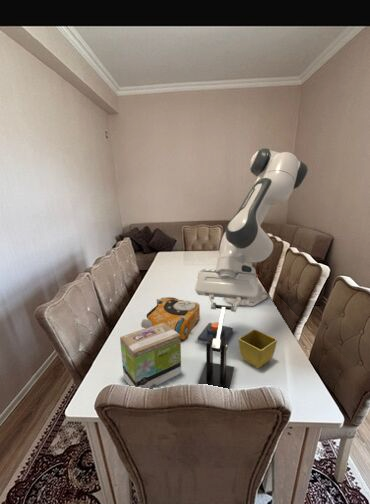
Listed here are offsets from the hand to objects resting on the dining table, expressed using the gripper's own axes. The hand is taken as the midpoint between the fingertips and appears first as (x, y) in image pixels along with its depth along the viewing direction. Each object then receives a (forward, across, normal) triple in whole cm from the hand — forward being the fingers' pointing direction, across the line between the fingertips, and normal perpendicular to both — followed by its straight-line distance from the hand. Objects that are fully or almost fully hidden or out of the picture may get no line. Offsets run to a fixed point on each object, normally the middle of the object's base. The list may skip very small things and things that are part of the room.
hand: (223, 310), depth 78 cm
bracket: (+20, 0, +6) cm, 21 cm away
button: (+1, -5, +20) cm, 20 cm away
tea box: (+23, -19, +3) cm, 30 cm away
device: (0, -25, +27) cm, 37 cm away
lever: (+6, 0, 0) cm, 6 cm away
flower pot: (+12, +11, +14) cm, 22 cm away
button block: (+4, -5, +22) cm, 23 cm away
